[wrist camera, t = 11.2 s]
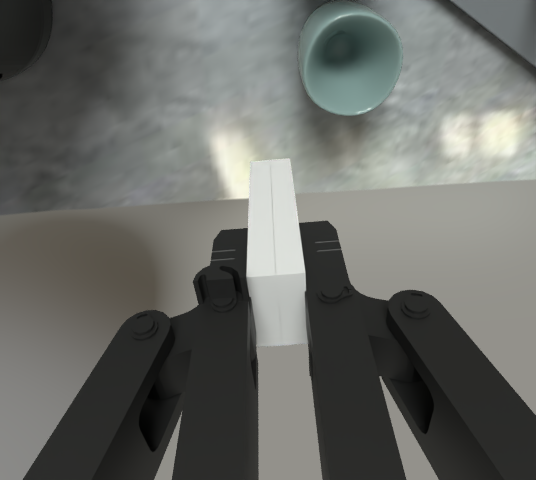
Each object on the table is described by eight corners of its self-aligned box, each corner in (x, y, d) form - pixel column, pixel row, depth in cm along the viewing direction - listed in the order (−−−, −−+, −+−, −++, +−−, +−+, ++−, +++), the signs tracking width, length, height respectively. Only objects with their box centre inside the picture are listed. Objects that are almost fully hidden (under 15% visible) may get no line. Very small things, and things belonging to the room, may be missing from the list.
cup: (387, 5, 39) (421, 26, 31) (358, 89, 43) (381, 126, 35) (306, -17, 38) (319, -1, 30) (284, 72, 42) (291, 106, 34)
